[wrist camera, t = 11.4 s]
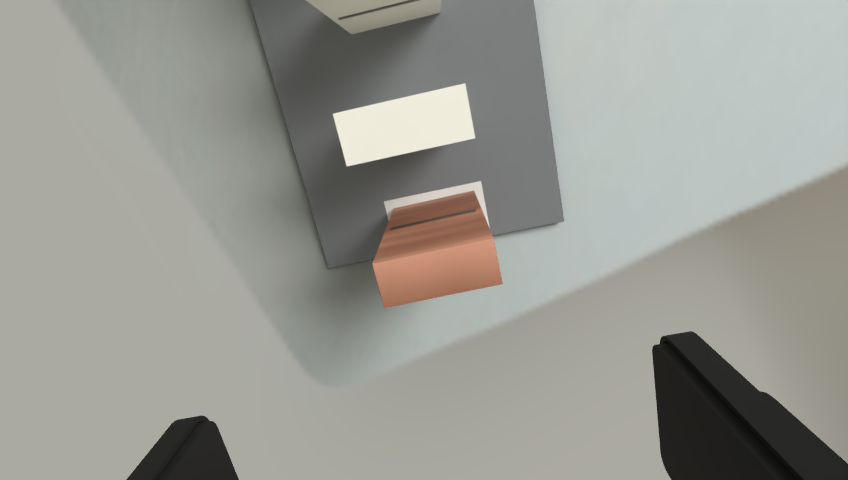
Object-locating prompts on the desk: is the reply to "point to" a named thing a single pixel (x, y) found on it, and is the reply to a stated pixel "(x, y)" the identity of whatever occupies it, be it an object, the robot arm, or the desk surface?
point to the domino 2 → (405, 125)
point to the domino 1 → (374, 12)
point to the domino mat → (405, 76)
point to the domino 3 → (436, 251)
